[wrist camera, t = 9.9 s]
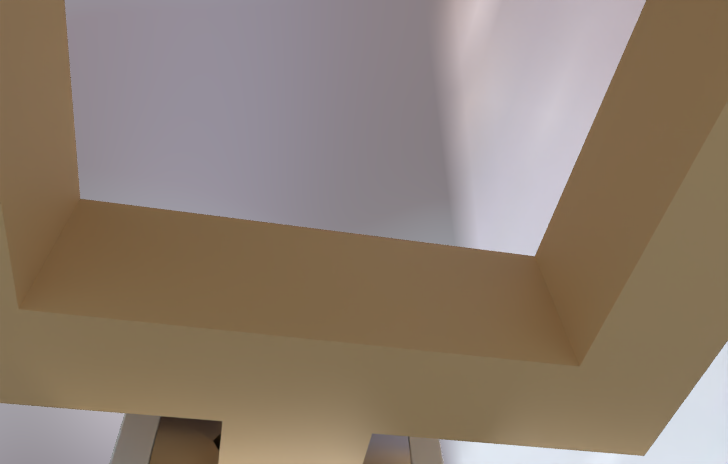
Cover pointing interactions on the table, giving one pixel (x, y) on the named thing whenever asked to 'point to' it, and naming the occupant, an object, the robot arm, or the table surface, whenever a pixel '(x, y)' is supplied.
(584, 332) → the tan rectangular frame
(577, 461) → the table surface
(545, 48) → the table surface
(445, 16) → the table surface
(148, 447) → the robot arm
